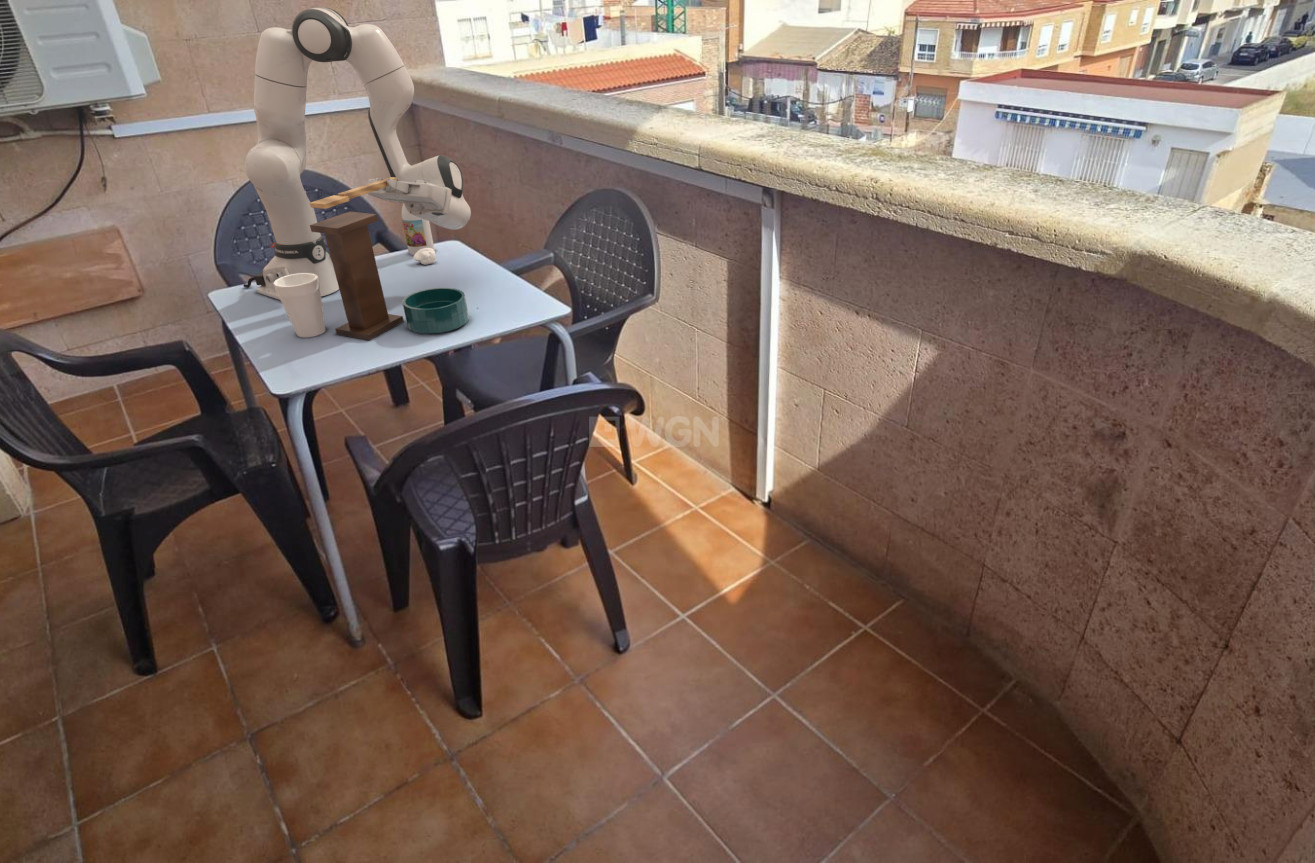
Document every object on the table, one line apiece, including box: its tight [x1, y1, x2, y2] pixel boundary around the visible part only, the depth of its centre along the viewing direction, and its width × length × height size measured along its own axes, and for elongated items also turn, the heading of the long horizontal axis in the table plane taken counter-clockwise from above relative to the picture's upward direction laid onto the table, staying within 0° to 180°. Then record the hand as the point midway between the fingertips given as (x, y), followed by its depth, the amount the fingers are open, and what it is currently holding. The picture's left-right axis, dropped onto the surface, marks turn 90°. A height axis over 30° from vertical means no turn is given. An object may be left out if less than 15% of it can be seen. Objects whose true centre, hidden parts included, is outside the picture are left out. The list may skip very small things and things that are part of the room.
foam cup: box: [273, 273, 326, 338], centre depth 171 cm, size 10×9×13 cm
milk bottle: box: [401, 203, 435, 256], centre depth 221 cm, size 8×8×20 cm
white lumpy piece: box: [412, 248, 437, 266], centre depth 217 cm, size 7×5×4 cm
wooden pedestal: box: [310, 211, 405, 341], centre depth 169 cm, size 10×12×26 cm
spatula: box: [310, 176, 397, 210], centre depth 164 cm, size 24×4×1 cm, turn 156°
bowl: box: [401, 287, 470, 335], centre depth 175 cm, size 14×14×6 cm
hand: (383, 181), depth 170 cm, fingers closed on spatula
